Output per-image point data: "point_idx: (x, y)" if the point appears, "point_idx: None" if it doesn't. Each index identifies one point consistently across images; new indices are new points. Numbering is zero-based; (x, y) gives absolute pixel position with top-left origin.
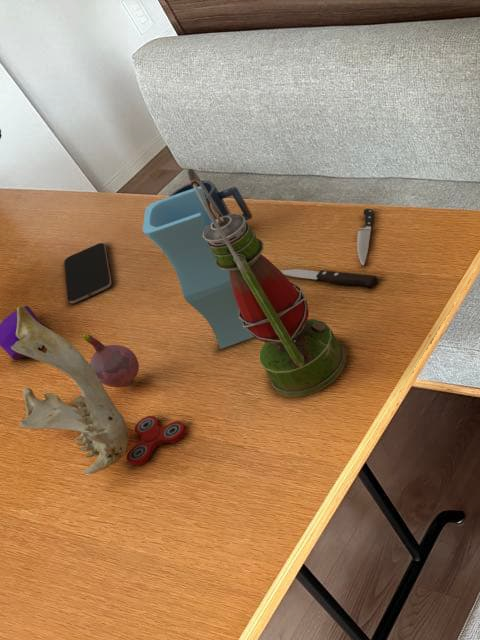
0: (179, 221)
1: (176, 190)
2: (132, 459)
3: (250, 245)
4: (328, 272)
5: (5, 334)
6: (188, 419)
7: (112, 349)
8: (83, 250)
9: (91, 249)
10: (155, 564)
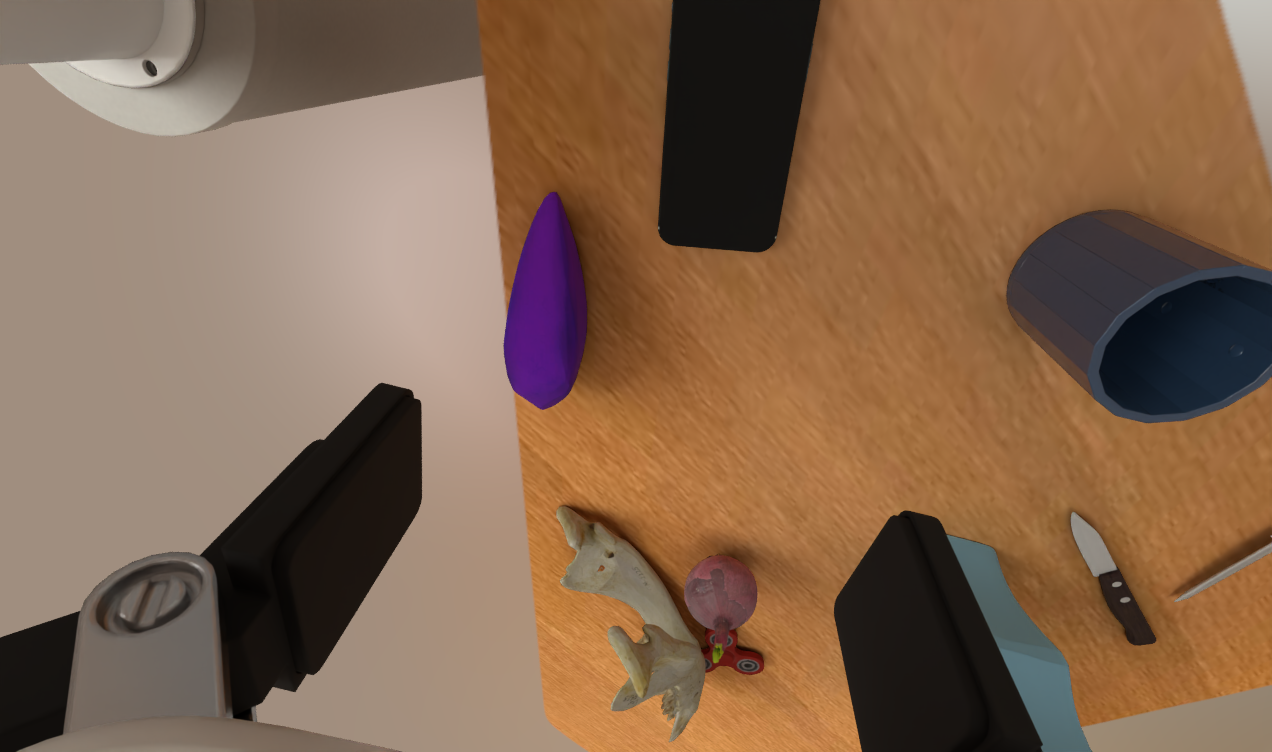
0: None
1: (1196, 276)
2: None
3: None
4: (1121, 588)
5: (529, 385)
6: (769, 647)
7: (737, 624)
8: None
9: None
10: (680, 740)
